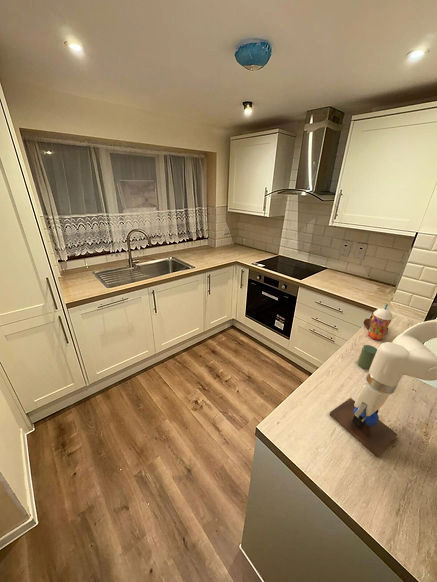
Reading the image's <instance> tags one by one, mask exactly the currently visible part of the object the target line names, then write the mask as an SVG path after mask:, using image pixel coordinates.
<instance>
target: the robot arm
mask: <svg viewBox="0 0 437 582" xmlns="http://www.w3.org/2000/svg"><path fill="white" fill-rule="evenodd" d="M436 338H437V318H436V319H430V320H426V321H421V322H418V323H416V324H414V325H412V326H410V327H409V328H407V329H405V330H404V331H402V332H401V333H399V334H398V335H397V336H396V337H395V338H394V339H393V340H392V342H391V341H387V342H386V341H385V342H382V343H380V344H379V346H378V348H376V349H377V352H376V354H375V357H374V359H373V362H372V364H371V367H370V369H369V370H367V371H368V372H367V374H366V376H365V384H364V385H363V387H362V388H361V389H360V392H359V394H358V396H357V398H356V400H355V404H354V406H355V407H356V408H358V407H359V406H360V407H359V409H358V410H357V411H356V412H355V414H354V415H355V416H354V418H353V420H352V423H353V424H355V425H356V426H357V427H358V428H359V429H360V430H362V429H363V427H364V424H365V422H366V421H365V419H366V418H367V416H371V415H372V414H373V413H374V412H376V413H377V414H378V415H379V410H380V409H381V408H382V407H383V406H384V405H385V404H386V402H387V400H388V398H389V397H390V396H391V395H393V394H394V393H395V391H396V390H397V388H398V385H399V384H400V381H401V380H402V377H403V376H407V377H410V378H414V379H418V380H422V381H427V382H428V381H429V382H431V381H432V382H434V381H437V355H436V354H435V353H434V352H433V351H432V350H430V348H428V347H427V346H426V345H425V343H426V342H428V341H430V340H432V339H433V340H434V339H436ZM365 409H366V411H365ZM362 413H364V414H365V415H364V417H362V416H361V414H362Z"/></svg>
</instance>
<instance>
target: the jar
mask: <svg viewBox="0 0 437 582" xmlns="http://www.w3.org/2000/svg"><path fill="white" fill-rule="evenodd" d="M362 346H363V347H361V350H360V353H359V355H358V358H357V362H356V365H357V366H358V367H359V368H360V369H362V370H366V371H369V369H370V367H371V364H372V362H373V359H374V357H375V354H376V352H377V349H378V348H377V347H375V346H373V345H370V344H364V345H362Z"/></svg>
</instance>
